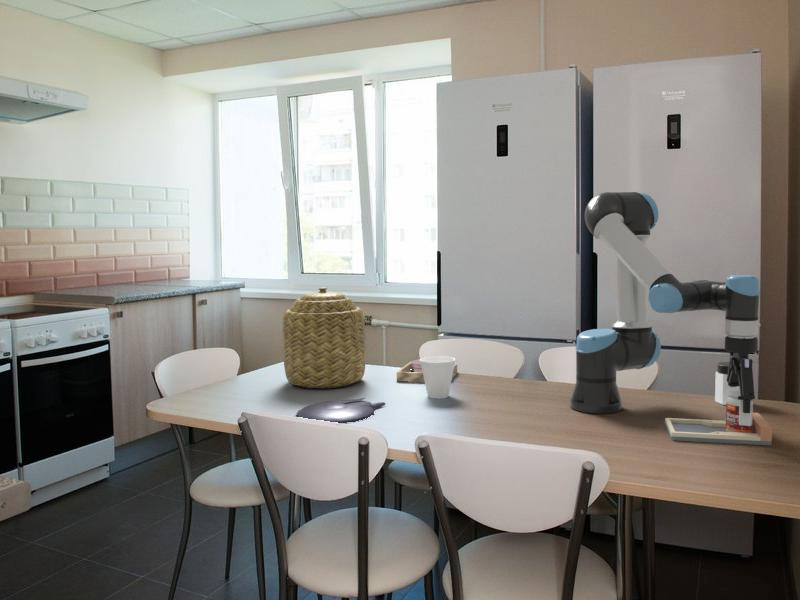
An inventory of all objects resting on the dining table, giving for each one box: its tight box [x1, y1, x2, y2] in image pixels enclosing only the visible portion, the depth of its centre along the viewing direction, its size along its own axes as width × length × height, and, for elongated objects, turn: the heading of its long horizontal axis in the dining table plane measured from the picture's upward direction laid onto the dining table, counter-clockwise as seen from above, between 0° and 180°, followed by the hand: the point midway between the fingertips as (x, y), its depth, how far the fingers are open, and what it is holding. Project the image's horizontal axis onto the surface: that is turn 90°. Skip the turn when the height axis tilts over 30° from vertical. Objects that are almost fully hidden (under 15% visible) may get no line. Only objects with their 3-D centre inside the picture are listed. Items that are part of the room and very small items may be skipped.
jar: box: [714, 361, 739, 406], centre depth 209 cm, size 9×8×12 cm
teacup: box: [410, 359, 422, 372], centre depth 257 cm, size 12×12×6 cm
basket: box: [282, 286, 367, 389], centre depth 250 cm, size 30×30×35 cm
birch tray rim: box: [396, 361, 458, 384], centre depth 257 cm, size 19×19×4 cm
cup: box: [419, 355, 456, 400], centre depth 226 cm, size 12×12×12 cm
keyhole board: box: [664, 412, 773, 446], centre depth 178 cm, size 23×14×4 cm, turn 75°
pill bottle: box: [725, 387, 754, 433], centre depth 176 cm, size 6×6×11 cm
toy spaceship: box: [295, 397, 386, 424], centre depth 209 cm, size 28×24×3 cm
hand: (739, 418), depth 176 cm, fingers open, 13 cm apart
